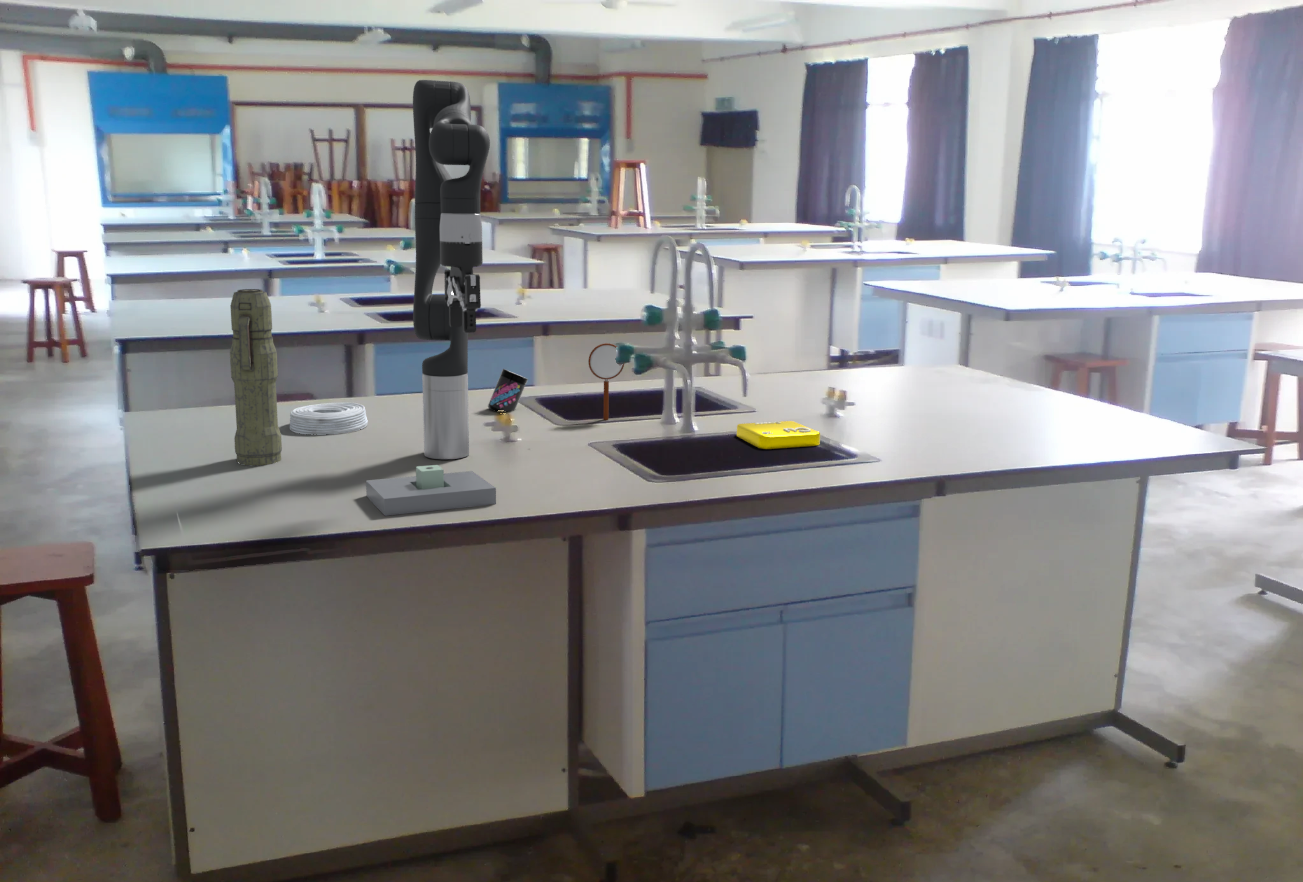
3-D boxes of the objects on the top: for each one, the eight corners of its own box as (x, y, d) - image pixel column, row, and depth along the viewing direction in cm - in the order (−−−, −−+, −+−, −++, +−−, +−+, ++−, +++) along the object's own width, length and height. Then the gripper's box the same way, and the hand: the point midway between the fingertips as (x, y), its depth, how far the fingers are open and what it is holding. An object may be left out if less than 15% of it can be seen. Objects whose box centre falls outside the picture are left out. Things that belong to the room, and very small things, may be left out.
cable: (378, 427, 276) (377, 402, 275) (353, 443, 259) (352, 416, 258) (306, 425, 278) (305, 399, 276) (276, 440, 261) (275, 413, 259)
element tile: (792, 438, 272) (793, 418, 271) (822, 452, 259) (824, 431, 258) (733, 442, 267) (733, 421, 266) (761, 456, 254) (762, 434, 253)
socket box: (366, 496, 213) (365, 480, 213) (472, 486, 222) (472, 470, 221) (384, 515, 201) (384, 498, 200) (496, 504, 209) (495, 487, 209)
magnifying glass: (623, 425, 282) (624, 342, 278) (624, 426, 281) (625, 343, 276) (587, 425, 281) (588, 343, 277) (588, 427, 279) (589, 343, 275)
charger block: (416, 498, 212) (415, 466, 211) (438, 496, 214) (437, 464, 213) (422, 504, 209) (421, 471, 208) (444, 502, 211) (443, 469, 209)
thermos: (231, 471, 230) (220, 292, 223) (241, 457, 242) (231, 287, 235) (277, 470, 232) (269, 292, 225) (285, 456, 243) (277, 287, 236)
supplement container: (481, 405, 289) (497, 366, 289) (500, 411, 294) (516, 373, 294) (498, 413, 285) (515, 373, 284) (517, 420, 290) (533, 381, 290)
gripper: (429, 237, 214) (431, 326, 218) (452, 241, 202) (453, 334, 205) (469, 237, 217) (470, 324, 221) (493, 241, 205) (494, 333, 208)
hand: (462, 329), depth 213 cm, fingers open, 8 cm apart
